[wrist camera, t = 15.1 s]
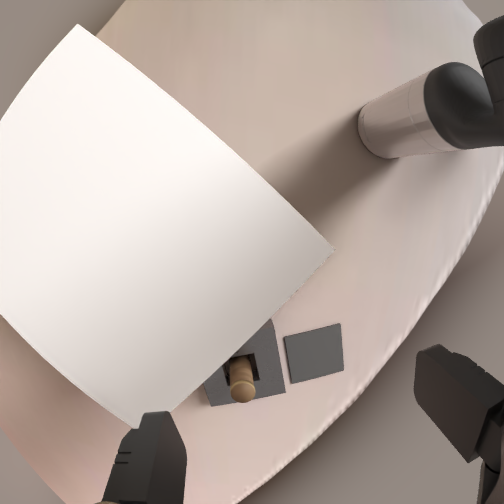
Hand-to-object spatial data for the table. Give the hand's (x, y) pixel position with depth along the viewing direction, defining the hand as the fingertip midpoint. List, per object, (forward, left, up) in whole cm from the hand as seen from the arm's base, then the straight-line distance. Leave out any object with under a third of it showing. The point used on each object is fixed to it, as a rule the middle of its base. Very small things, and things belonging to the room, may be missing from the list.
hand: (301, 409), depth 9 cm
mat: (-8, +21, -36) cm, 43 cm away
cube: (+11, -5, -37) cm, 39 cm away
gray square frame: (+4, +19, -36) cm, 41 cm away
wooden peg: (+4, +19, -36) cm, 41 cm away
